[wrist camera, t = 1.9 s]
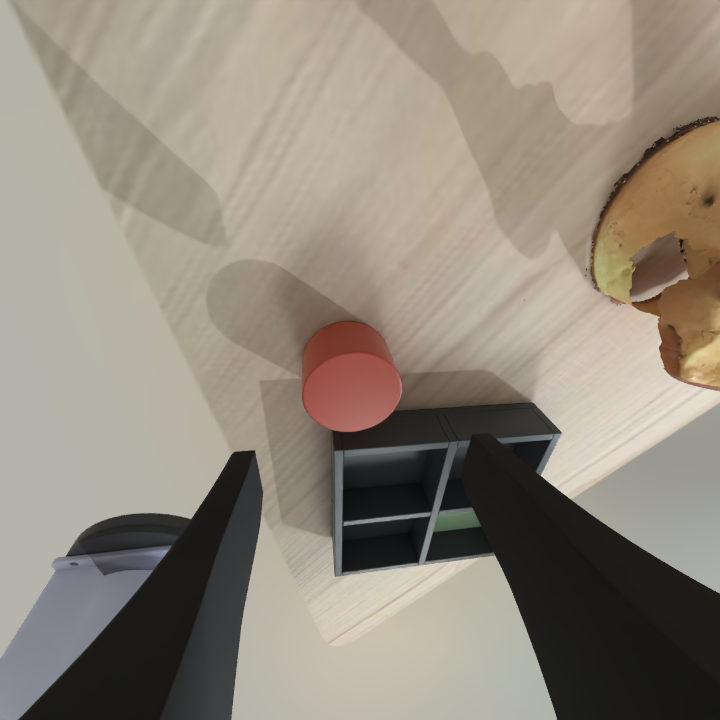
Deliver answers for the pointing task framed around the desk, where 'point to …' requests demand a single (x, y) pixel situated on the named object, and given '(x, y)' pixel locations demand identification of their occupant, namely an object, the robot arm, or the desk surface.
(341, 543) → the grid
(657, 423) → the desk surface
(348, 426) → the cylinder
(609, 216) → the curled potato peel
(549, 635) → the robot arm
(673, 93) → the desk surface
